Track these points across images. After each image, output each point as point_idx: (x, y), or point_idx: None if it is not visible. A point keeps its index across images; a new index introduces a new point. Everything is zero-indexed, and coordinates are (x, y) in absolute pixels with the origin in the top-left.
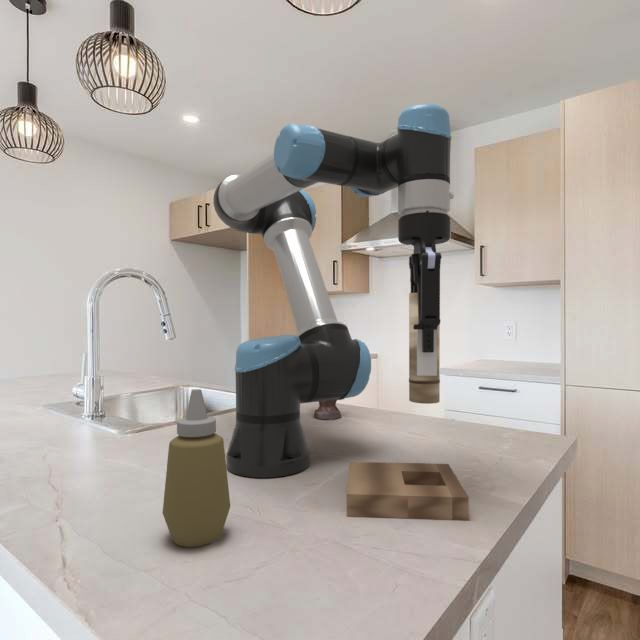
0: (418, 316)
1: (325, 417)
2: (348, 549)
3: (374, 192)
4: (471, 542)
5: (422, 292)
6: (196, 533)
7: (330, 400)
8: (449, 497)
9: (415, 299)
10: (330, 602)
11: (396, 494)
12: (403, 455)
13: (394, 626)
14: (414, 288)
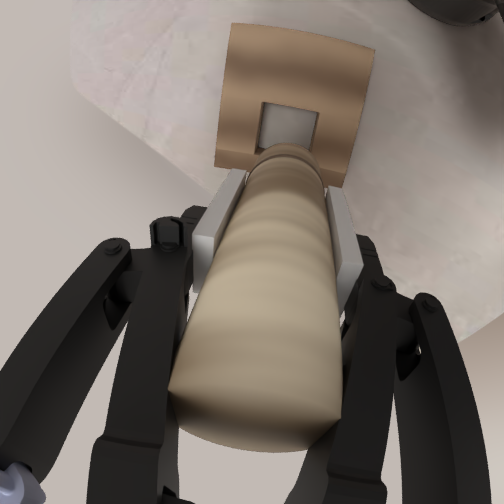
0: (176, 274)
1: None
2: (161, 29)
3: None
4: (174, 144)
5: (30, 329)
6: None
7: None
8: (216, 145)
9: (187, 347)
10: (94, 28)
11: (226, 83)
12: (453, 169)
13: (75, 70)
14: (330, 453)
